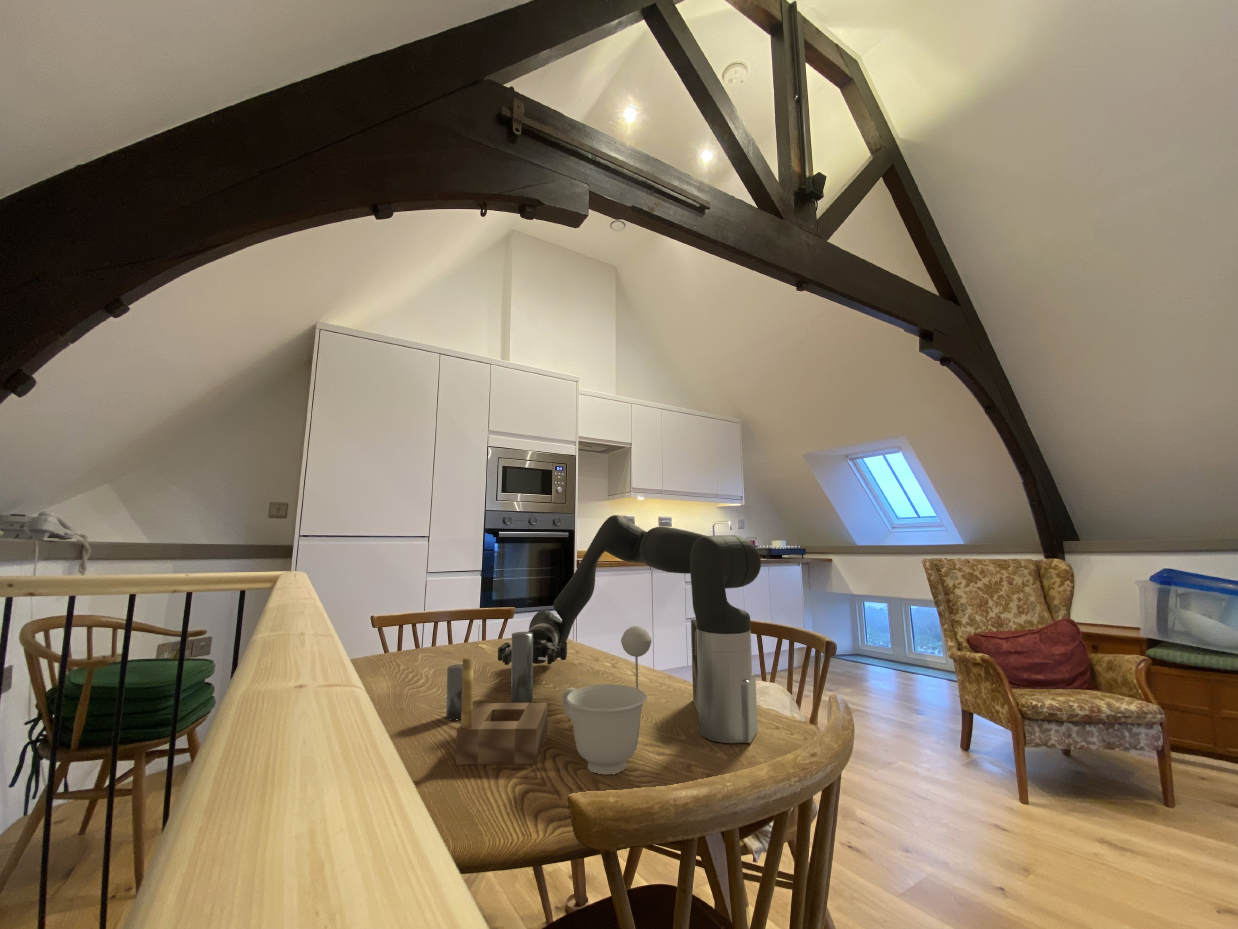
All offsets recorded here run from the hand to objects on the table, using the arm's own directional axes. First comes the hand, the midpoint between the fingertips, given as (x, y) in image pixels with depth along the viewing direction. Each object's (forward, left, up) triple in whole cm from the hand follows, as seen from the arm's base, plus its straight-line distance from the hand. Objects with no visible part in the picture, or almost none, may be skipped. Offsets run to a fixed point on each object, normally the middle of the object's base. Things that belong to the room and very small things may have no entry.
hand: (527, 659), depth 107 cm
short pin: (+9, +10, -9) cm, 16 cm away
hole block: (-8, +18, -9) cm, 22 cm away
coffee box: (-33, -14, -9) cm, 37 cm away
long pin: (-2, +5, -9) cm, 11 cm away
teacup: (-25, +17, -9) cm, 32 cm away
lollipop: (-19, -10, -9) cm, 24 cm away
